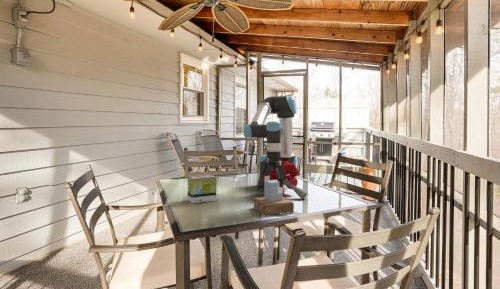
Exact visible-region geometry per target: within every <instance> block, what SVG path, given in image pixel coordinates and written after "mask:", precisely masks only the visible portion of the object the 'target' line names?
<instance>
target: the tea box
mask: <svg viewBox="0 0 500 289" xmlns="http://www.w3.org/2000/svg"><path fill="white" fill-rule="evenodd" d="M187 200H188V201H189V202H190V203H191V204H197V203H207V202H216V201H217V176H214V175H213V174H201V175H199V174H198V175H188V176H187Z"/></svg>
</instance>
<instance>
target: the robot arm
mask: <svg viewBox="0 0 500 289" xmlns="http://www.w3.org/2000/svg"><path fill="white" fill-rule="evenodd" d="M297 111H298V110H297V102H296V98H295V96H293V95H278V96H277V95H275V96H274V95H273V96H267V97H266V98H264V99H262V100H261V101H260V102H258V104H257V106H256V112H255V113H254V116H253V118H252V121H251V122H250V123H248V124H244V125H243V136H244V137H245V139H246V138H250V139H266V146H265V147H266V153H265V154H262V155H260V156H259V162H258V163H259V164H258V165H259V166H258V167H259V175H258V179H257V182H256V187H257V188H261V189H264V183H263V180H262V179H263V176H262V174H264V176H265V181H268V180H270V176H268V175H269V173H270V171H271V170H272V168H273V169H274V170H275V172H276V175H277V177H278V194H279V193H283V188H284V185H283V181H284V180H286V177H285V173H284V169H283V164H282V161H279V160H283V161H287V162H289V163H290V164H291V163H292V162H293V164H294V165H295V166H296V167H297V162H298V156H297V155H296V154H295V152H294V151H293V148H294V147H293V142H294V141H293V118H294V117H295V115H296V114H297V113H298V112H297ZM270 115H276V117H277V118H278V119H279V120H278V121H267V119H268V116H270ZM266 121H267V122H266ZM265 123H266V124H265Z"/></svg>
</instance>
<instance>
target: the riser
mask: <svg viewBox="0 0 500 289" xmlns="http://www.w3.org/2000/svg"><path fill="white" fill-rule="evenodd" d="M294 204H295V203H294V202H293V201H291V200H289V199H287V198H286V197H284V196H283V197H282V201H276V202H270V201H267V200H265V199H264V196H260V197H254V198H253V208H254V209H255V210H257V211H258V213H260V212H261V213H260V214H262V215H263V214H264V215H265V216H264V215H263V216H264V217H268V216H267V215H271V216H274V215H273V214H279V215H281V214H280V213H287V212H294V211H295V209H294V208H295V205H294ZM294 213H295V212H294Z"/></svg>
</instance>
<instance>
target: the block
mask: <svg viewBox="0 0 500 289" xmlns="http://www.w3.org/2000/svg"><path fill="white" fill-rule="evenodd" d="M263 190H264V191H263V192H264V193H263V194H264V195H263V197H264V199H265V200H267V201H270V202H276V201H282V197H284V196H283V193H279V194H278V180H268V181H264V188H263Z"/></svg>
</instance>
